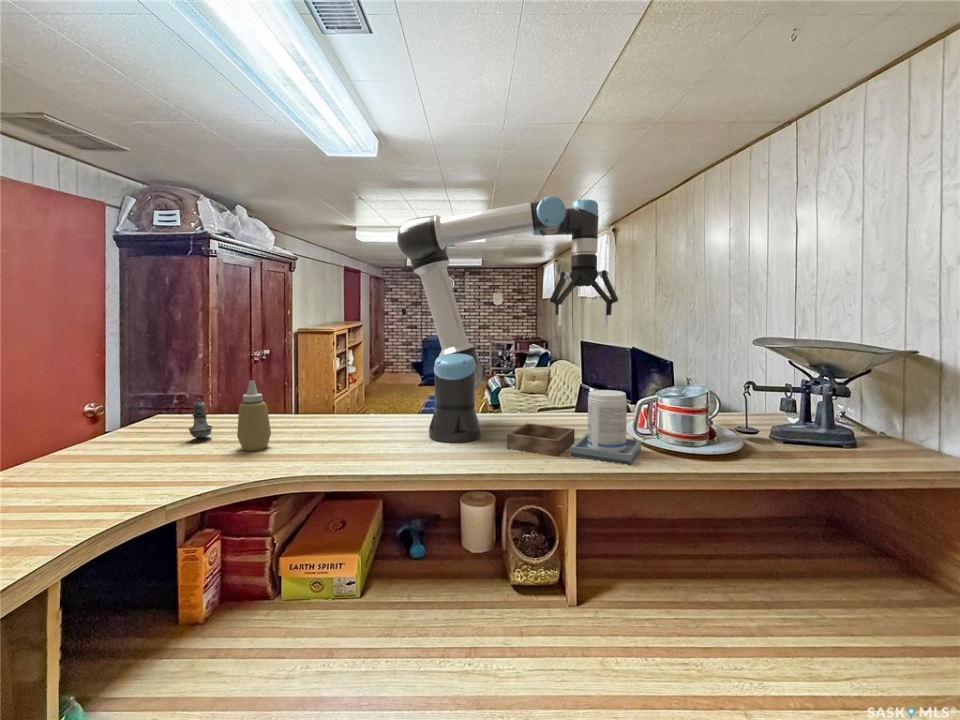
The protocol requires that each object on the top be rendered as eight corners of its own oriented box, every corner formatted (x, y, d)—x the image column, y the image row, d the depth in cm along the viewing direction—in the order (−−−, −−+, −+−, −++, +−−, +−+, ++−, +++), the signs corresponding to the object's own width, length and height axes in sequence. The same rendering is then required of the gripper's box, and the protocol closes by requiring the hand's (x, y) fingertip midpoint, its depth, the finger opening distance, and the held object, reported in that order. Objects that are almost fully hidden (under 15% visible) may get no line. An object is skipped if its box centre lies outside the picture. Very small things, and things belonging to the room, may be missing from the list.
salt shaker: (184, 442, 131) (181, 399, 130) (203, 436, 137) (201, 395, 136) (199, 444, 129) (196, 400, 128) (218, 438, 135) (215, 397, 133)
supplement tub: (632, 449, 122) (634, 392, 120) (613, 456, 115) (615, 397, 114) (599, 441, 129) (601, 388, 127) (579, 448, 122) (580, 392, 121)
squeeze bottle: (276, 448, 126) (274, 380, 124) (245, 454, 120) (241, 384, 118) (264, 442, 131) (261, 377, 129) (233, 448, 125) (229, 381, 123)
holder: (507, 449, 125) (507, 434, 125) (527, 436, 138) (527, 423, 137) (557, 456, 119) (558, 441, 118) (574, 443, 131) (574, 428, 131)
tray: (570, 456, 119) (570, 446, 119) (586, 442, 132) (586, 433, 132) (630, 465, 112) (630, 455, 112) (640, 449, 125) (641, 440, 125)
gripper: (629, 253, 139) (627, 326, 141) (548, 258, 150) (547, 325, 152) (624, 250, 132) (622, 327, 134) (540, 255, 144) (539, 325, 146)
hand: (582, 326), depth 143 cm, fingers open, 13 cm apart
